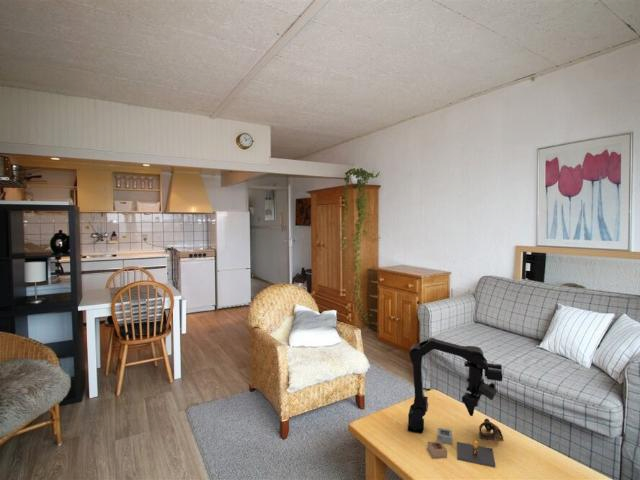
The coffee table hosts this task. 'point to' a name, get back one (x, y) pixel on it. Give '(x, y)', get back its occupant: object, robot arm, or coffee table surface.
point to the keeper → (475, 454)
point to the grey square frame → (445, 436)
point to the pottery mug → (489, 427)
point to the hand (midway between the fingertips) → (473, 410)
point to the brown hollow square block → (437, 449)
